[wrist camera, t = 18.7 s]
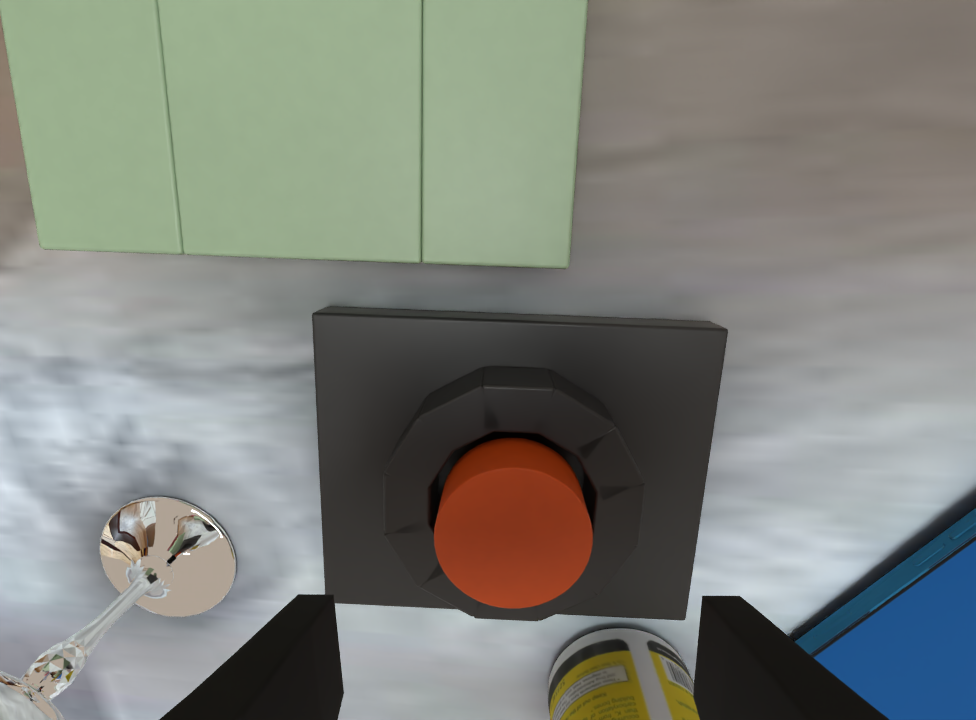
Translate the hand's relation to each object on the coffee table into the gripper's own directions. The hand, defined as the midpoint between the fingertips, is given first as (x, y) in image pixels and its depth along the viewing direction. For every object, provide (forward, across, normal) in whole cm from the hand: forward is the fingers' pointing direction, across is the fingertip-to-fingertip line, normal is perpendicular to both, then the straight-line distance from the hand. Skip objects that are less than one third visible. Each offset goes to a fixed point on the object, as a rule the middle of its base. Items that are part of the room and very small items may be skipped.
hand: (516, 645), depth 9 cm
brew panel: (+7, 0, 0) cm, 7 cm away
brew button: (+5, 0, 0) cm, 5 cm away
